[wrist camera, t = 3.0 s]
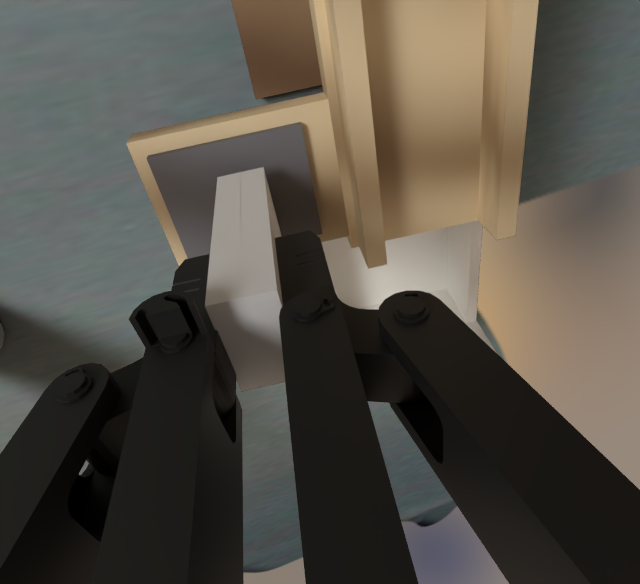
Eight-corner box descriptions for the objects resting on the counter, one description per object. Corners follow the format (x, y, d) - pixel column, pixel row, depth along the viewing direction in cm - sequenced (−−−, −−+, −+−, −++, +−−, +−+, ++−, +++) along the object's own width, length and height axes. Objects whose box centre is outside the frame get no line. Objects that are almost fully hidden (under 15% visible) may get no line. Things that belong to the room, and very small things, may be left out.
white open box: (294, 183, 25) (309, 250, 19) (454, 148, 25) (515, 205, 20) (323, 317, 31) (341, 396, 26) (452, 289, 31) (497, 361, 26)
